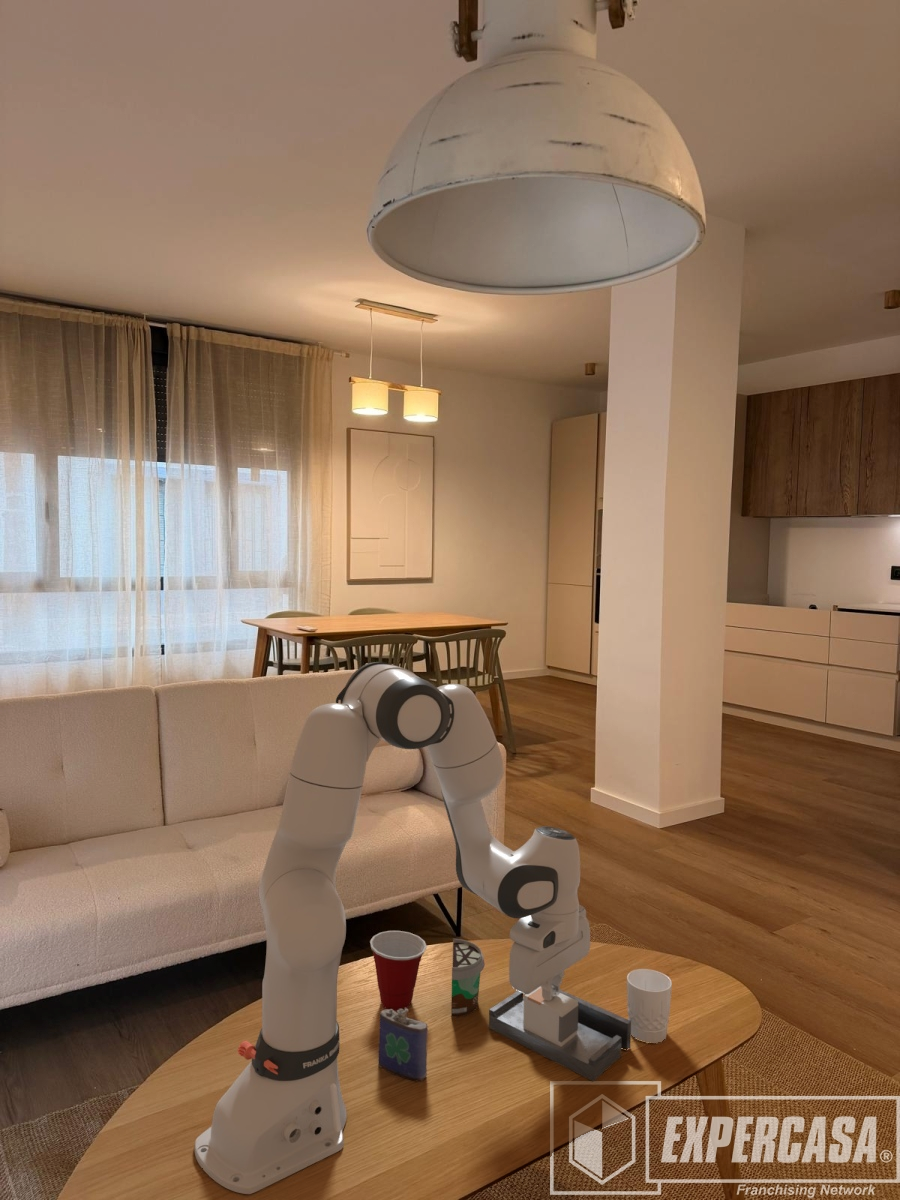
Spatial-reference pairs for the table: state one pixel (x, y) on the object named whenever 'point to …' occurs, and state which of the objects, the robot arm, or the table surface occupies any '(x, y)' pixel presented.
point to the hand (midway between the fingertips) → (550, 996)
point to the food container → (465, 977)
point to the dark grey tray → (580, 1054)
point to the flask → (402, 1045)
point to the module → (551, 1016)
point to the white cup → (648, 1004)
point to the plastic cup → (397, 966)
